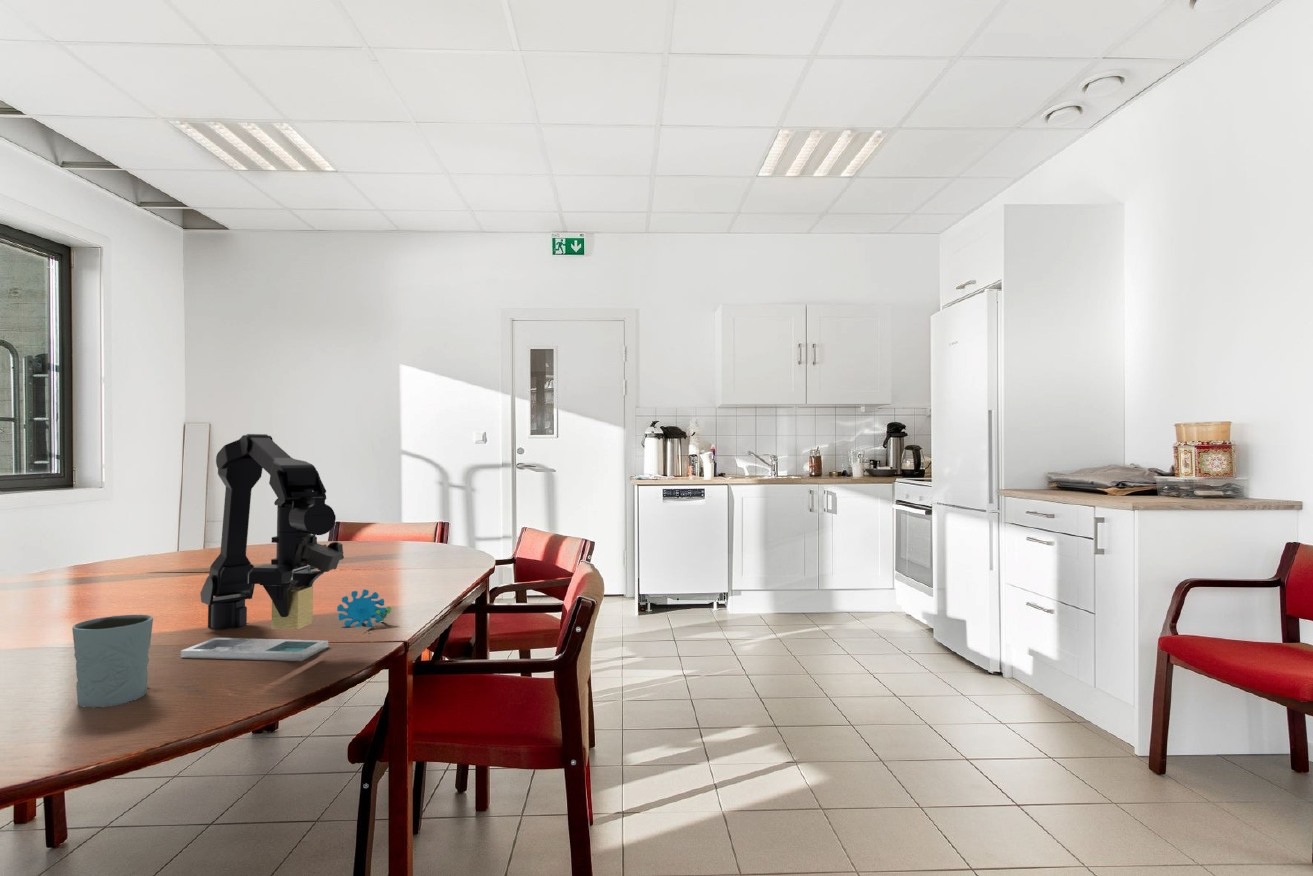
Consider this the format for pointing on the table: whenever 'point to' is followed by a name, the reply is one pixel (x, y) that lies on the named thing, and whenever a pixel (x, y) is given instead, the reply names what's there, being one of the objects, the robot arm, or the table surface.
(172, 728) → the table surface
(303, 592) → the block
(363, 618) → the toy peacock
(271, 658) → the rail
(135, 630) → the embossed vase
